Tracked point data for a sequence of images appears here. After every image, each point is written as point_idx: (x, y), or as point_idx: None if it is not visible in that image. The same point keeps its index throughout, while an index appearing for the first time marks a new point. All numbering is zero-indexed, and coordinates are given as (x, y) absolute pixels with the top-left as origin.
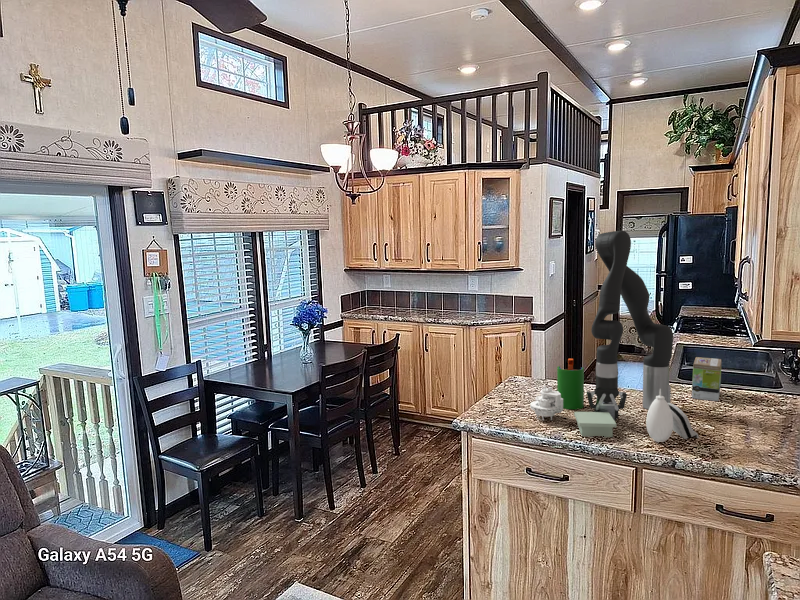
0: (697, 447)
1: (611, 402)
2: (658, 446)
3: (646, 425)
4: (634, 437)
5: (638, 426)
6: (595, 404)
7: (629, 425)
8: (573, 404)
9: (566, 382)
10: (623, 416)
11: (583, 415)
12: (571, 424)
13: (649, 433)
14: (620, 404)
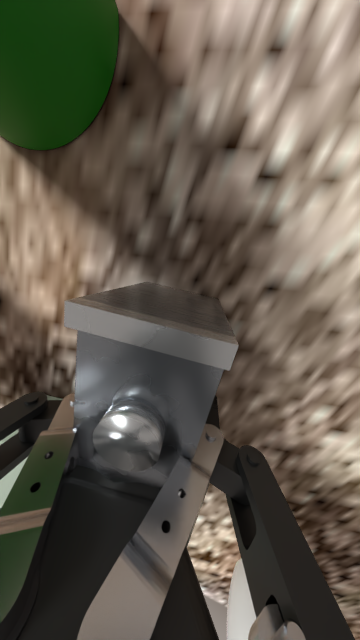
0: (345, 598)
1: (181, 449)
2: (235, 564)
3: (229, 634)
4: (200, 510)
5: (276, 441)
6: (56, 420)
7: (244, 425)
8: (3, 123)
9: None
10: (289, 312)
11: (2, 481)
12: (22, 374)
13: (229, 593)
14: (245, 482)
